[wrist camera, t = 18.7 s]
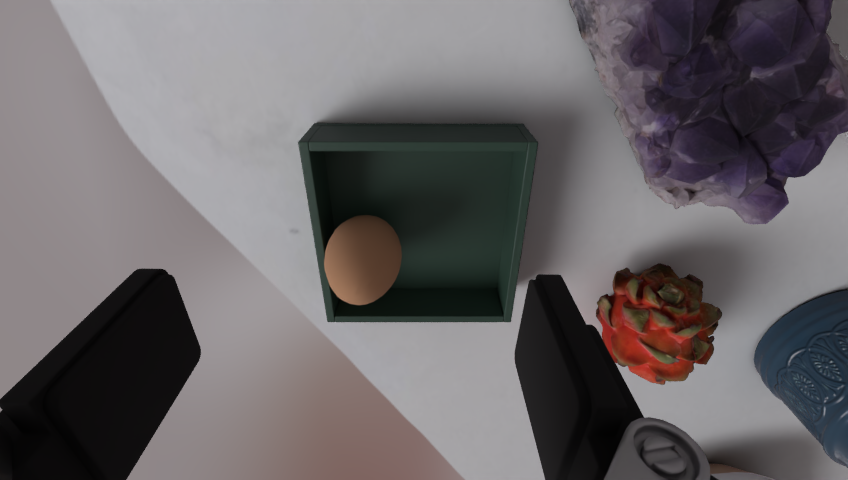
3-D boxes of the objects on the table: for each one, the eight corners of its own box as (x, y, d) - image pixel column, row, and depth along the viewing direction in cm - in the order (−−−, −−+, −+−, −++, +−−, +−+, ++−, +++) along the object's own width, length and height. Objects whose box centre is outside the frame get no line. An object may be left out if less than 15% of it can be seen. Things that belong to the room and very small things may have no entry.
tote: (337, 289, 34) (327, 322, 31) (313, 123, 27) (297, 141, 23) (501, 289, 34) (511, 322, 31) (523, 123, 27) (538, 142, 24)
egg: (325, 208, 30) (296, 270, 23) (392, 191, 29) (382, 250, 22) (350, 264, 32) (331, 334, 25) (411, 249, 32) (408, 318, 25)
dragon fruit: (612, 226, 33) (642, 307, 40) (554, 305, 31) (596, 376, 38) (734, 253, 26) (745, 344, 33) (670, 356, 24) (696, 431, 31)
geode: (484, -32, 23) (549, -94, 13) (667, -202, 20) (895, -414, 11) (640, 220, 30) (749, 290, 21) (787, 118, 28) (982, 146, 19)
